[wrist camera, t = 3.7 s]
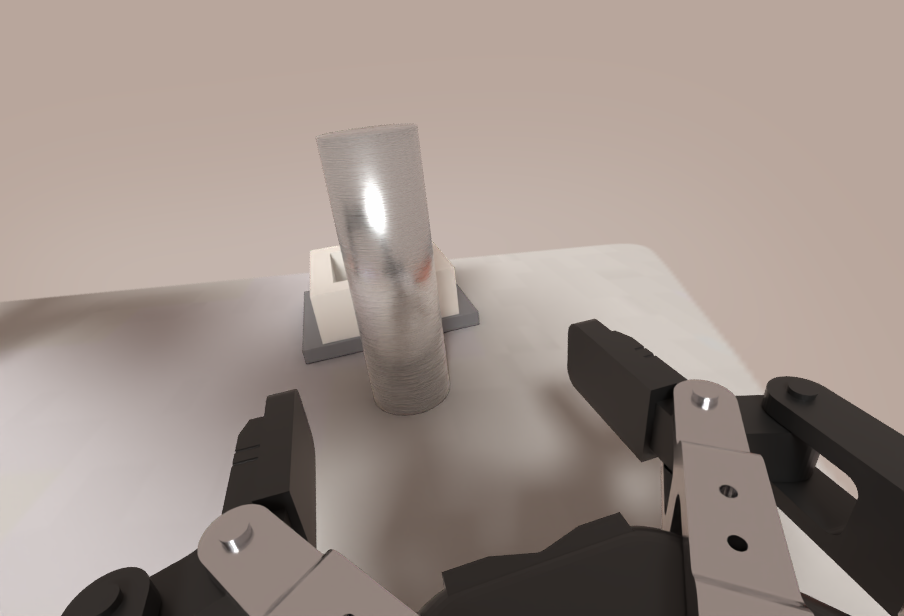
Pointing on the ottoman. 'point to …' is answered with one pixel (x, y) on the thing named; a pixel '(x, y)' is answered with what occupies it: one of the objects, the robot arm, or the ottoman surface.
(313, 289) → the dock
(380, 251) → the silver metal cylinder
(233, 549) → the robot arm
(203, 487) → the ottoman surface
